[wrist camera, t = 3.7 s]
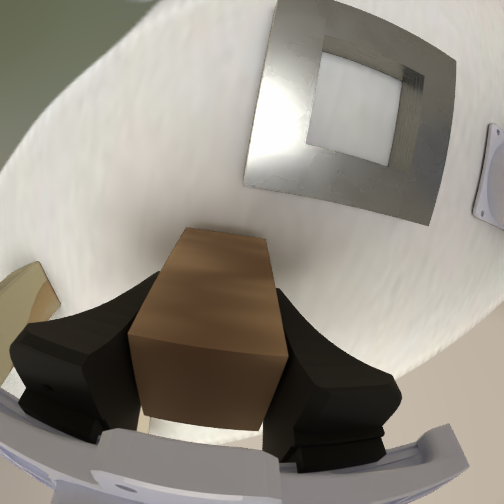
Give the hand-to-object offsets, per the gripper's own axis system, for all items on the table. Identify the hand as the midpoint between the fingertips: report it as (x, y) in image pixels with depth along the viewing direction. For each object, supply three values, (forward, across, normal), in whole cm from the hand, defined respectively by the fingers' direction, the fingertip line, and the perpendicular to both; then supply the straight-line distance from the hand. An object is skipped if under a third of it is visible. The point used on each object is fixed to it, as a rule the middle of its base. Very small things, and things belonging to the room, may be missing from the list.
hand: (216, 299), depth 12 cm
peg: (+3, 0, 0) cm, 3 cm away
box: (+6, +16, +6) cm, 18 cm away
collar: (+5, -6, -10) cm, 13 cm away
